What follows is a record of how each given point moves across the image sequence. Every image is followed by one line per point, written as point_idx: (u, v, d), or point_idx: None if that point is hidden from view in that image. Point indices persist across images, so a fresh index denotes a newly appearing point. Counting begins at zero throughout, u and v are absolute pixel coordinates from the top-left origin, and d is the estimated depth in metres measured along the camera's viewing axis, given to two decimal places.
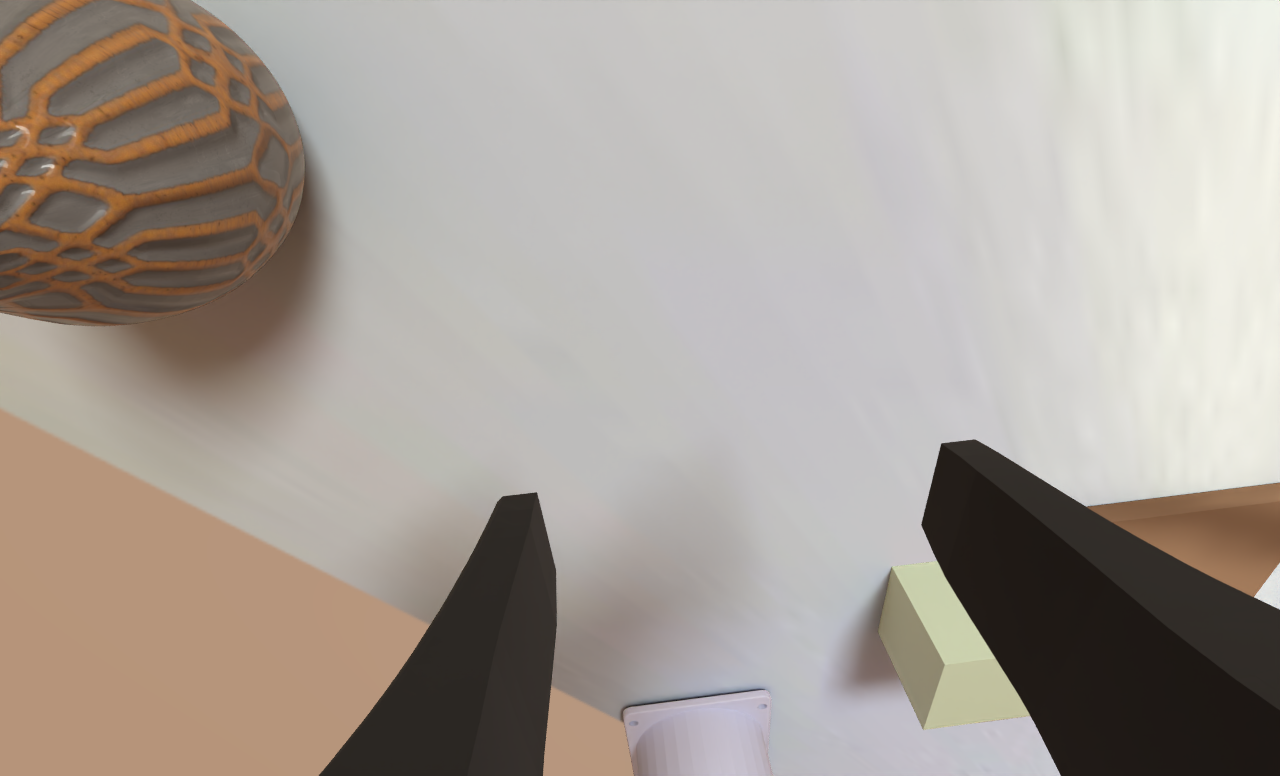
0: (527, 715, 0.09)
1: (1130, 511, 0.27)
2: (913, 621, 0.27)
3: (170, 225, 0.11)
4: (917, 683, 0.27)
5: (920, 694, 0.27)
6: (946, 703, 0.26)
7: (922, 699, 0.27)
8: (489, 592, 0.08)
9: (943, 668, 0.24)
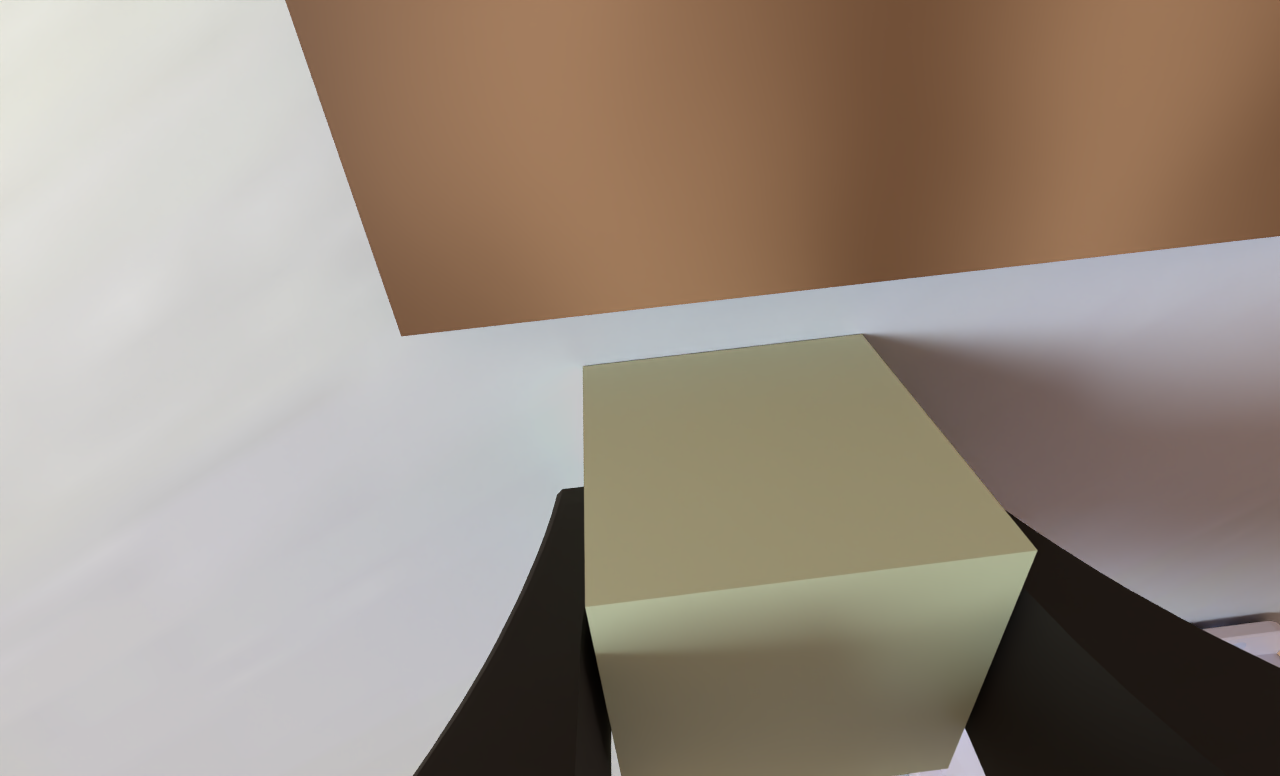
0: (600, 705, 0.09)
1: None
2: None
3: None
4: None
5: None
6: (823, 766, 0.09)
7: None
8: (566, 582, 0.08)
9: None
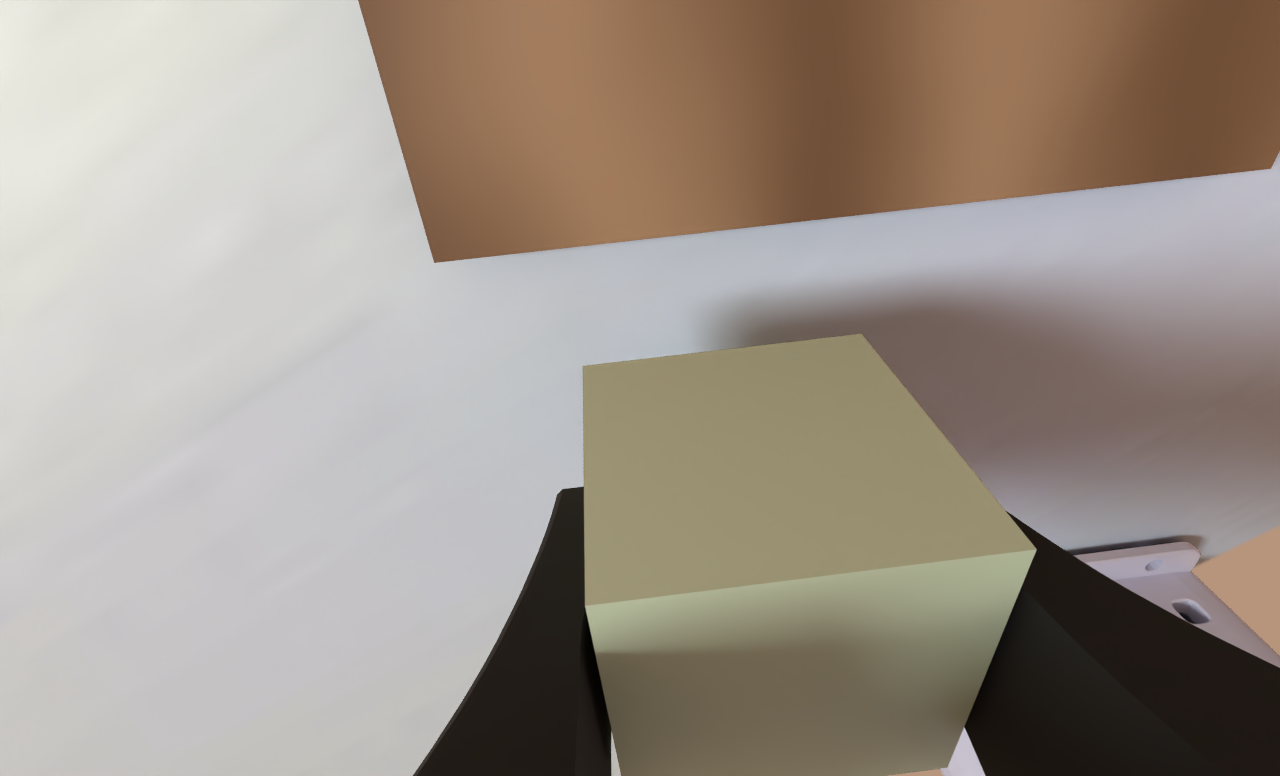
0: (600, 705, 0.09)
1: None
2: None
3: None
4: None
5: None
6: (822, 765, 0.09)
7: None
8: (566, 582, 0.08)
9: None
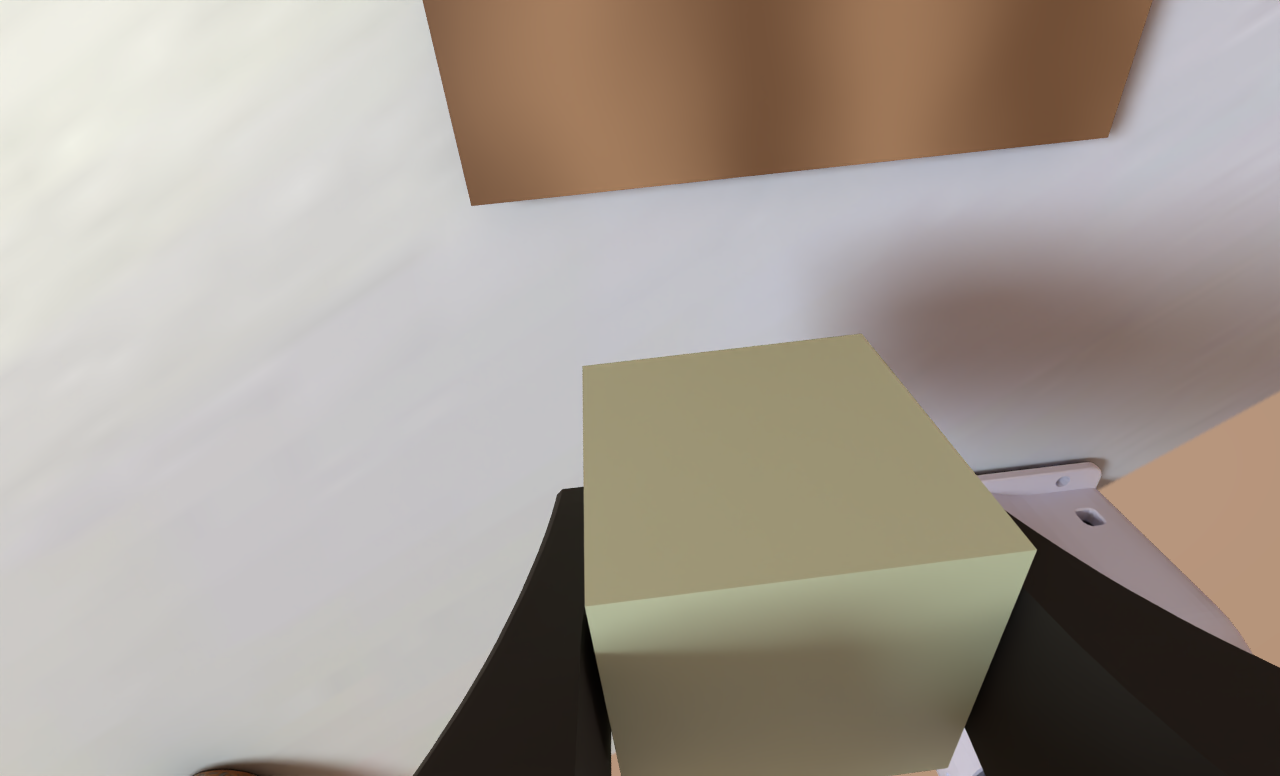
0: (600, 705, 0.09)
1: None
2: None
3: None
4: None
5: None
6: (823, 766, 0.09)
7: None
8: (566, 582, 0.08)
9: None
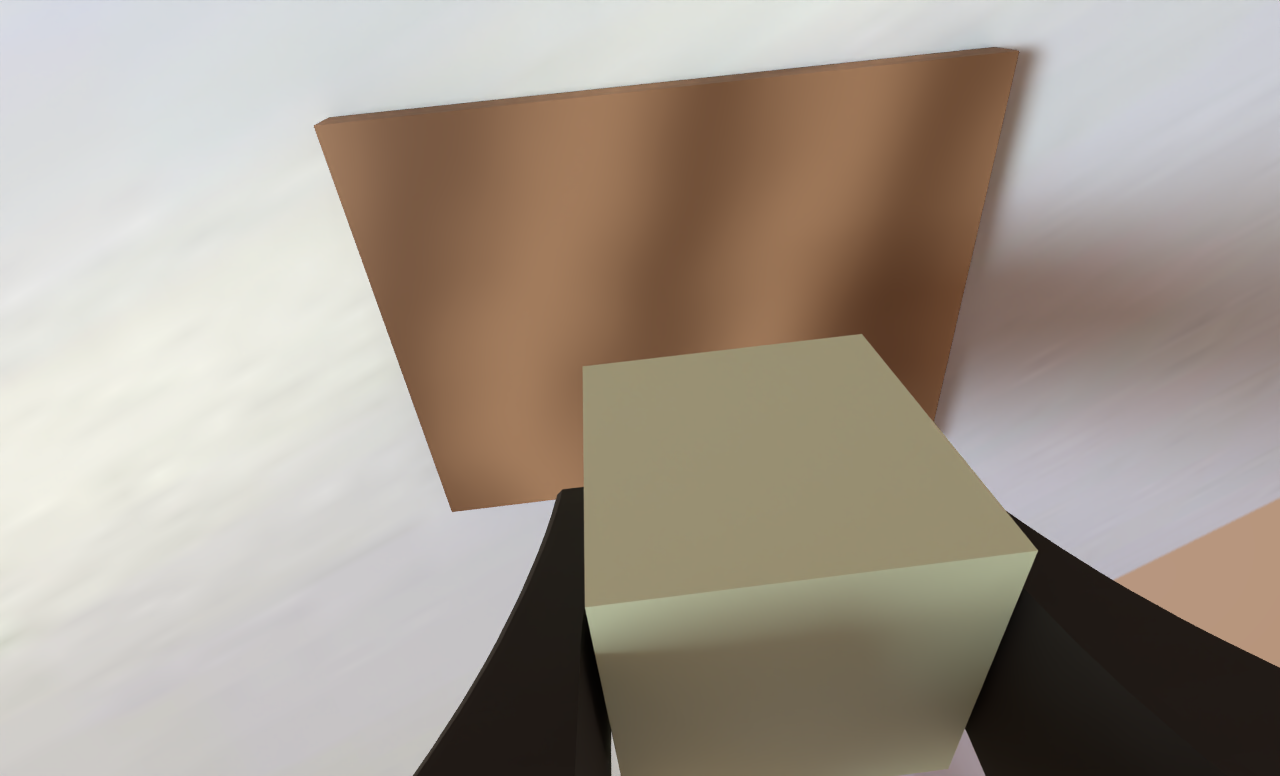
0: (600, 705, 0.09)
1: None
2: None
3: None
4: None
5: None
6: (823, 766, 0.09)
7: None
8: (566, 582, 0.08)
9: None
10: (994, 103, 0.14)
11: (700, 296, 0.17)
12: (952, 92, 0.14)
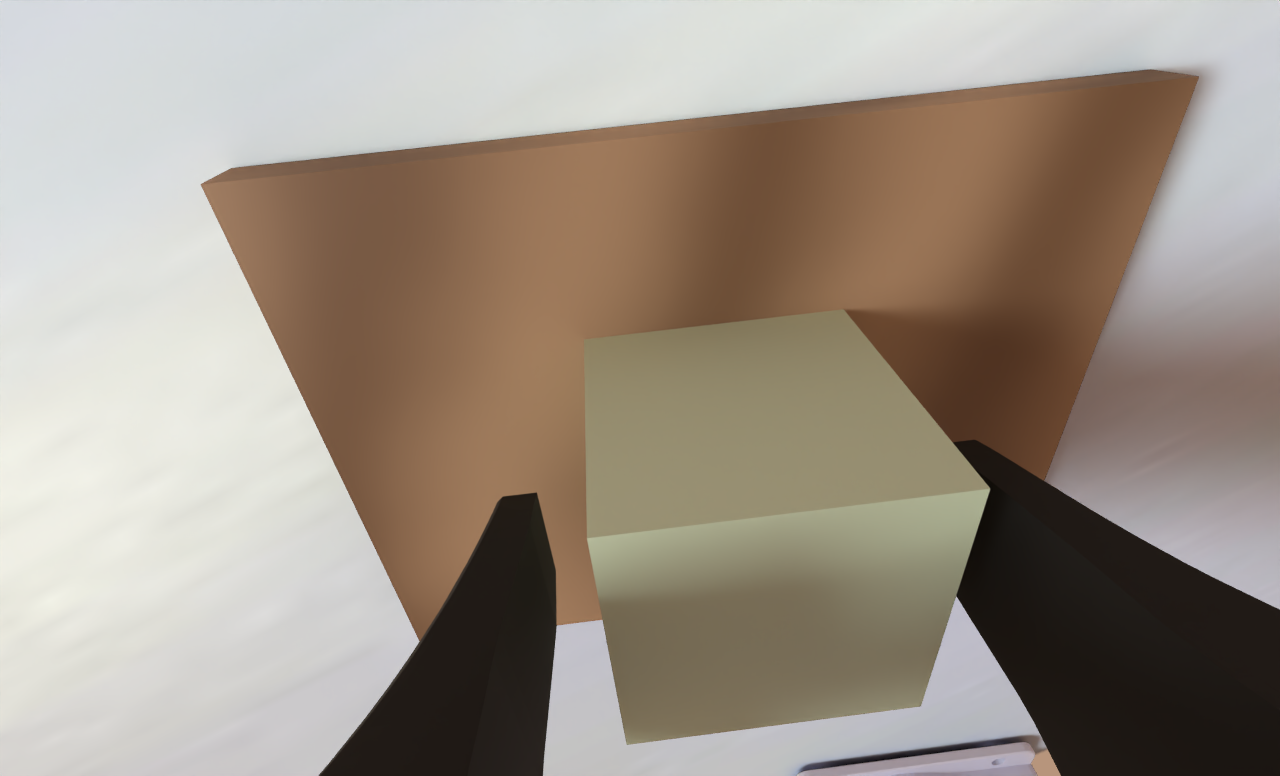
0: (527, 715, 0.09)
1: None
2: None
3: None
4: None
5: None
6: (805, 701, 0.10)
7: None
8: (489, 592, 0.08)
9: (645, 740, 0.10)
10: (1154, 148, 0.10)
11: None
12: (1099, 133, 0.10)
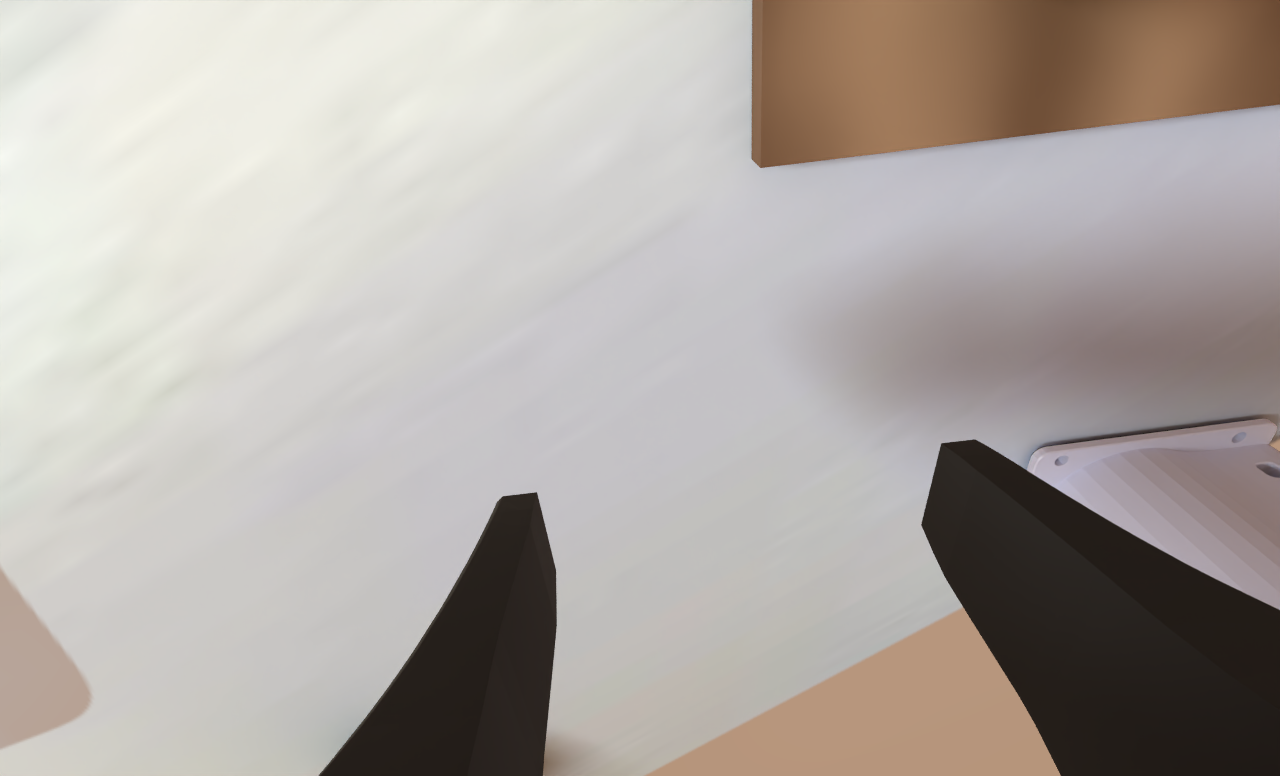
0: (527, 715, 0.09)
1: (757, 14, 0.14)
2: None
3: None
4: None
5: None
6: None
7: None
8: (489, 592, 0.08)
9: None
10: None
11: None
12: None
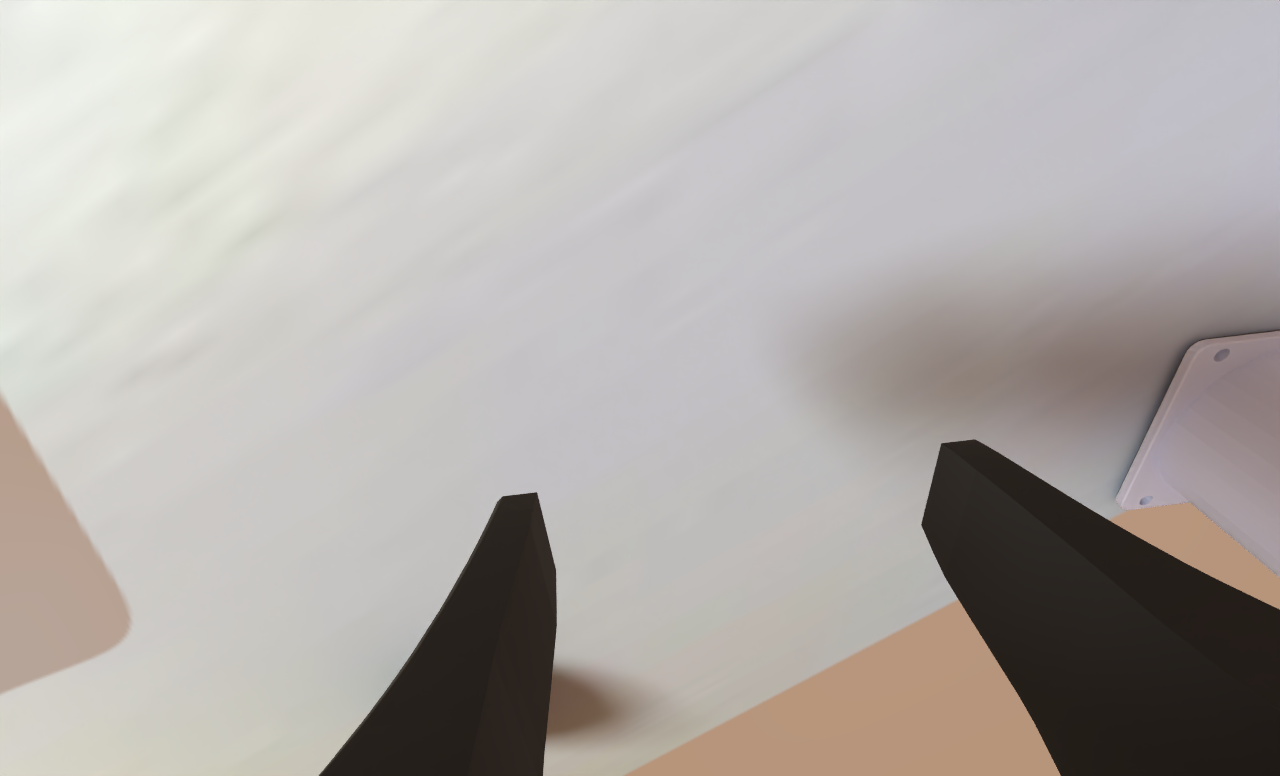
0: (527, 715, 0.09)
1: None
2: None
3: None
4: None
5: None
6: None
7: None
8: (489, 592, 0.08)
9: None
10: None
11: None
12: None
